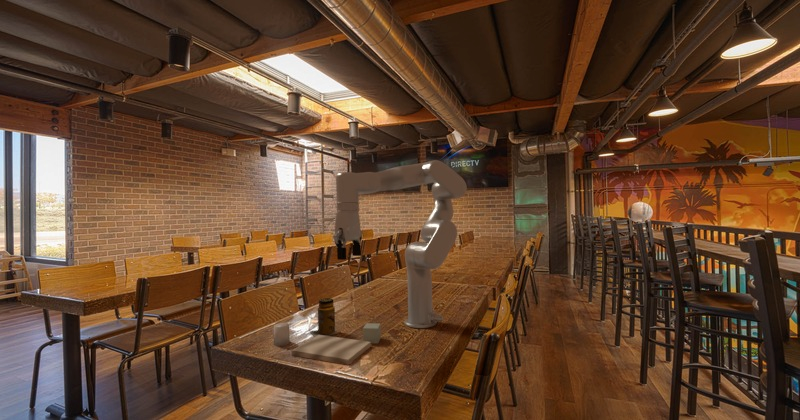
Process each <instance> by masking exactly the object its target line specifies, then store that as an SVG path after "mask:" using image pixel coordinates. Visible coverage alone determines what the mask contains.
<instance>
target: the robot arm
mask: <svg viewBox="0 0 800 420" xmlns="http://www.w3.org/2000/svg"><path fill="white" fill-rule="evenodd" d="M335 182H336V183H335V187H336V214H335V220H334V221H335V222H334V223H335V224H334V234H333V240H334V243H335V248H336V256H337V260H338V261H341V260H343V261H344V260H347V247H346V245H347V243H348V242H352V244H351V249H352V250H351V255H352V256H353V257H354V256H355V257H360V256H361V255H362V250H361V249H362V248H361V247H362V246H361V245H362V241H363V231H362V230H361V221H360V214H359V212H360V205H359V203H360V202H359V196H361V195H368V194H374V193H377V192H378V193H379V192H383V191H395V190H401V189H408V188H412V187H417V186H422V185H423V186H424V185H428V184H432V186H431V195H432V197H433V203H434V205H433V208H432V210H431V213H430V214H429V215H428V216H429V217H428V218H427V219H426V221H425V223H424V224H423V226H422V227H421V231H420V238H421V239H422V240H423V242H422V241H414V242H413V241H412V242H411V243H409V244H408V245H407V246H406V248H405V251H404V260H405V267H406V273H407V274H406V275H407V316H408V317H406V318H405V319H404V321H403V323H404V325H405V326H407V327H409V328H412V329H428V328H431V327H432V328H433V327H434V326H436V325H437V322H441V323H442V322H443V321H444V316H443V315H442V314H436V313H435V310H433V277H432V272H431V270H436V269H439V268H440V267H441V266H442V265H443V263H444V262H445V260H446V258H447V257H448V255H449V253H450V252H451V250H452V248H453V246H454V244H455V243H456V240H457V236H458V229H457V226H456V224H455V223H454V222H453V221H452V219H453V217H454V206H453V203H452V200H454V199H456V200H457V199H460V198H463V197H464V196H465V195H466V194H467V193H466V192H467V190H468V187H467V183H466V181H465V179H464V178H463V177H462V176H461V175H459V173H457V172H456V171H455V170H453V169H452V168H451V167H450V166H448V165H447V164H446V163H444V162H443V161H440V160H437V159H434V160H429V161H426V162H420V163H415V164H413V163H412V164H408V165H400V166H399V165H398V166H395V167H391V168H387V169H385V170H380V171H377V172H376V171H375V172H373V171H365V172H351V171H350V172H349V171H346V172H345V171H344V172H343V171H342V172H339V173H337V174H336V177H335Z"/></svg>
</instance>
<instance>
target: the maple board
mask: <svg viewBox="0 0 800 420" xmlns="http://www.w3.org/2000/svg"><path fill="white" fill-rule="evenodd" d="M371 344H372V343H371V342H368V341H363V340H361V339H353V338H352V339H351V338H347V337H346V338H345V337H339V336H338V337H337V336H331V335H328V336H324V335H318V336H316V337H315V336H313V337H312V338H311V339H309V340H308V341H305V342H304V343H302V344H300V345H299V346H297V347H295V348H293V349H292V350H291V356H294V357H300V358H306V359H311V360H318V361H323V362H328V363H336V364H341V365H350V364H351V363H353V362H354V361H355V360H356V359H358V358H359V357H360V356H361V355H363V353H365V352H366V351H367V350H369V349H370V348H371Z"/></svg>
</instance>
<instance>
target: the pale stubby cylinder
mask: <svg viewBox="0 0 800 420" xmlns="http://www.w3.org/2000/svg"><path fill="white" fill-rule="evenodd" d="M290 339H291V337H290V323H289V322H280V323H276V324H274V325H273V345H274V346H276V347H282V346H286V345H289V344H290Z"/></svg>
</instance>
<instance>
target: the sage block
mask: <svg viewBox="0 0 800 420" xmlns="http://www.w3.org/2000/svg"><path fill="white" fill-rule="evenodd" d="M381 329H382V328H381V323H370V322H369V323H365V325H364V326H363V327H362V336H363V337H362V341H368V342H371V344H379V342H380V340H381V339H382V337H381V335H382V334H381V333H382V332H381Z"/></svg>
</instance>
